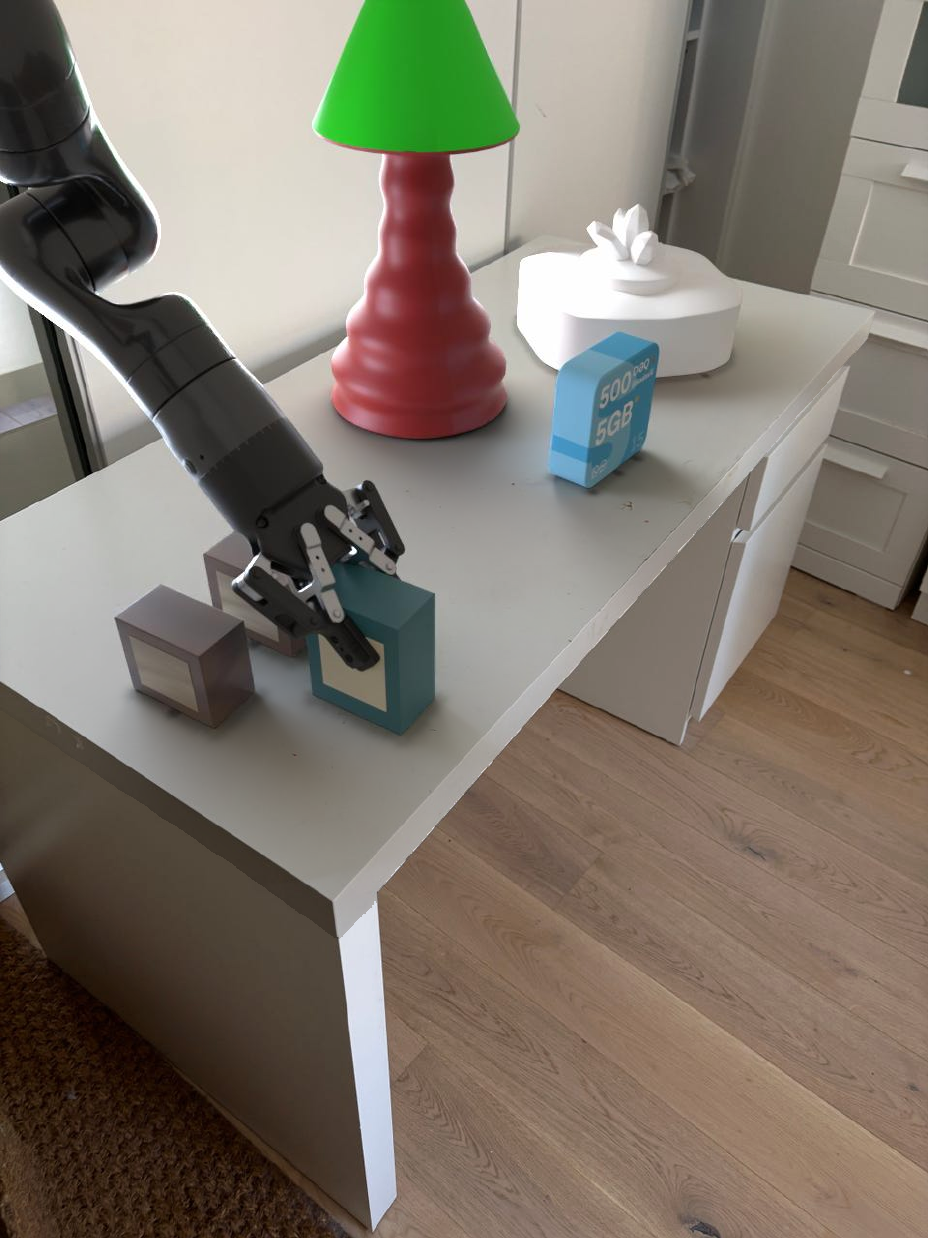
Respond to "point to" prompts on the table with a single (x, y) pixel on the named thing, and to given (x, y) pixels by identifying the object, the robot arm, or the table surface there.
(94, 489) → the table surface
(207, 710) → the walnut block
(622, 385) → the data package
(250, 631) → the walnut block
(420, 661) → the teal block
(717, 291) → the crystal-topped trinket box
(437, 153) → the table lamp
